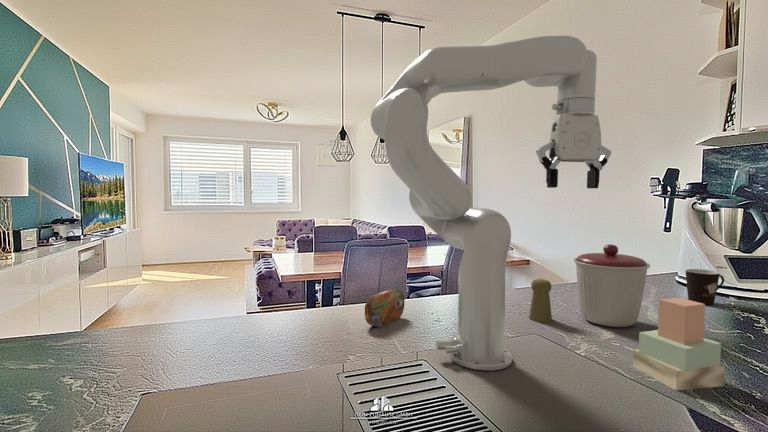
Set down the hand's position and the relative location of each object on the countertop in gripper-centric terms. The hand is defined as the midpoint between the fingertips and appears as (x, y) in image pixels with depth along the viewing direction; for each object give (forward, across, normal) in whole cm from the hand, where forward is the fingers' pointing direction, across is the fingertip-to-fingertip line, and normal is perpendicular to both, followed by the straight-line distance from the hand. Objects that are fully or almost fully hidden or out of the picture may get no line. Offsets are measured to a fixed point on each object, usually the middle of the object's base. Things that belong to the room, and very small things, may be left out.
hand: (572, 187), depth 91 cm
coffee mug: (+35, +65, +28) cm, 79 cm away
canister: (+36, +22, +15) cm, 45 cm away
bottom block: (+36, +12, -16) cm, 42 cm away
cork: (+36, +5, +20) cm, 41 cm away
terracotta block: (+28, +12, -17) cm, 35 cm away
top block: (+32, +12, -17) cm, 38 cm away
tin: (+37, -38, +23) cm, 58 cm away
